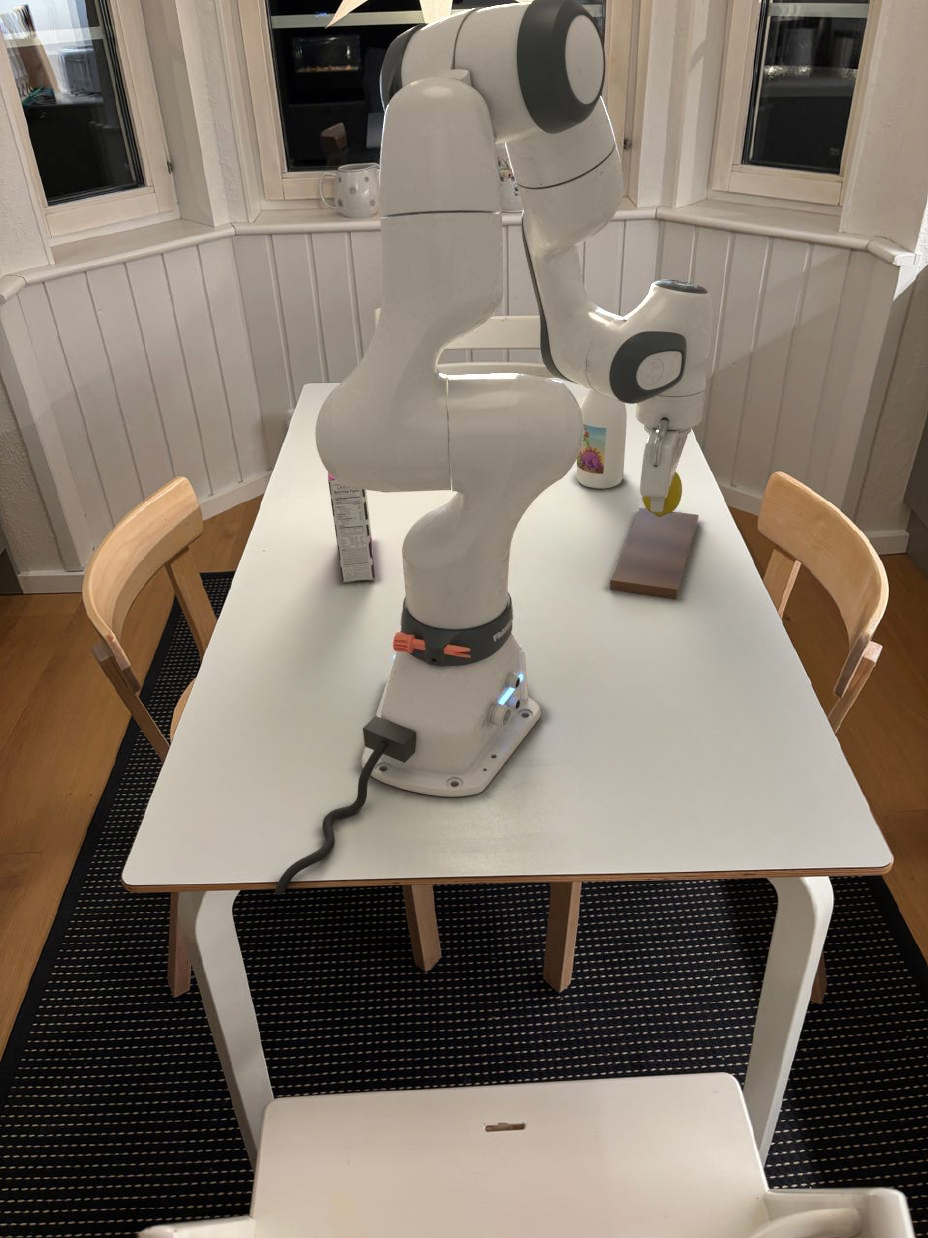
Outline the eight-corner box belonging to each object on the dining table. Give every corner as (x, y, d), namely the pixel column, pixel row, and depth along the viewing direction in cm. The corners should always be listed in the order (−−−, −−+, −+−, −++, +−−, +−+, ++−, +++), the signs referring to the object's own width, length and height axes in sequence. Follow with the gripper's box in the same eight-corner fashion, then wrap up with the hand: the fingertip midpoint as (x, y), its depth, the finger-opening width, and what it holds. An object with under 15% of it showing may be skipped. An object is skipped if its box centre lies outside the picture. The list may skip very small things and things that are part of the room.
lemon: (678, 527, 134) (684, 475, 129) (638, 524, 135) (643, 473, 130) (679, 509, 138) (685, 458, 134) (640, 506, 139) (645, 456, 135)
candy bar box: (339, 545, 143) (326, 443, 133) (372, 542, 143) (362, 441, 134) (340, 584, 133) (326, 478, 124) (375, 581, 134) (365, 475, 125)
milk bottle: (610, 466, 162) (617, 350, 151) (631, 485, 156) (639, 366, 145) (568, 473, 160) (572, 357, 149) (587, 493, 154) (593, 373, 143)
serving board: (676, 599, 128) (677, 589, 127) (609, 589, 130) (610, 579, 129) (697, 523, 145) (698, 514, 144) (638, 516, 147) (639, 507, 146)
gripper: (683, 438, 118) (672, 536, 126) (702, 381, 134) (692, 470, 142) (632, 433, 120) (625, 530, 128) (657, 377, 136) (650, 466, 143)
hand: (660, 498), depth 135 cm, fingers closed on lemon, 5 cm apart
